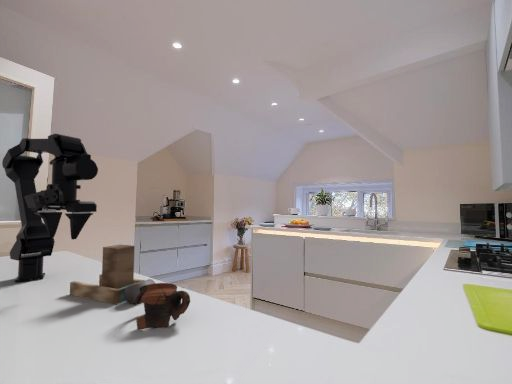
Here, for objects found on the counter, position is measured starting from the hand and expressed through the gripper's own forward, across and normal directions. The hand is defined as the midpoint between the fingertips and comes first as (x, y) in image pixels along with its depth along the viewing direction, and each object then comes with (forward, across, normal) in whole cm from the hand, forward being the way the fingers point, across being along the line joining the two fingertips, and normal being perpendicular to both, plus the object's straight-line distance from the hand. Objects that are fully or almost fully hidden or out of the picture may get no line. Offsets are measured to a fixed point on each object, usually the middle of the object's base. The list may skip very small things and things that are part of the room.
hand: (62, 238), depth 75 cm
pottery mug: (+13, +39, -6) cm, 42 cm away
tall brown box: (+13, +19, +1) cm, 23 cm away
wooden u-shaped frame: (+13, +19, +1) cm, 23 cm away
